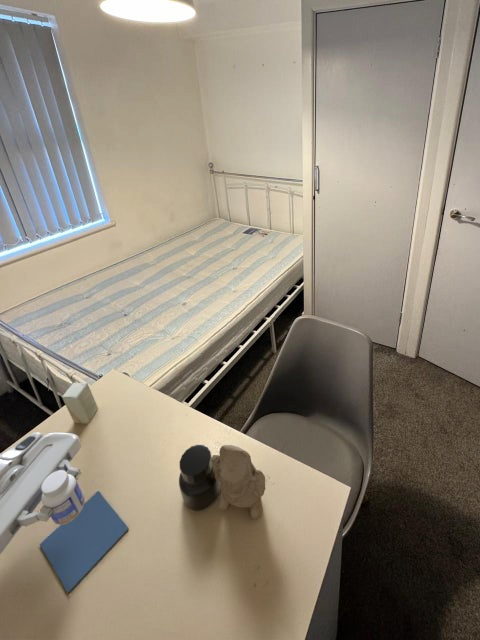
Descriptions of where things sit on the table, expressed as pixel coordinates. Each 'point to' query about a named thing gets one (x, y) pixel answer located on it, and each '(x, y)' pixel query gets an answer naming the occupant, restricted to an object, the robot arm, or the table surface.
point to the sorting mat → (83, 540)
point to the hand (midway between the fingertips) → (64, 493)
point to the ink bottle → (198, 478)
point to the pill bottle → (62, 496)
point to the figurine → (238, 480)
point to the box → (80, 402)
